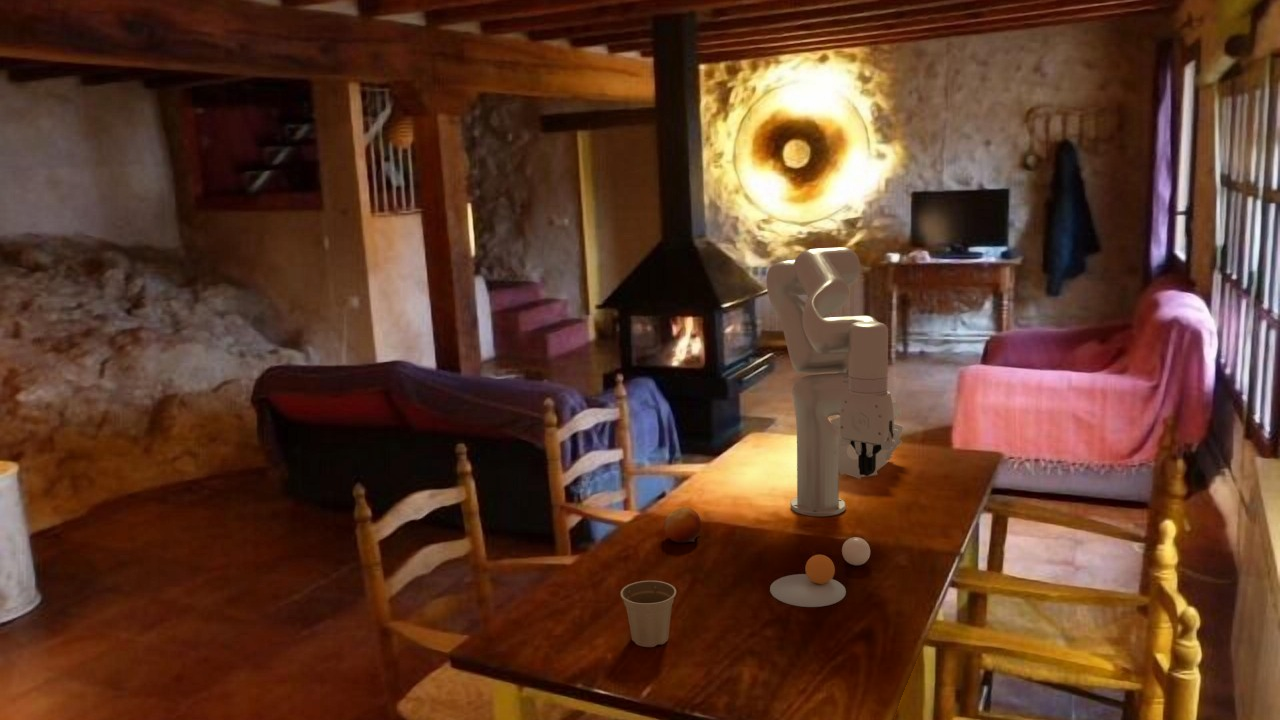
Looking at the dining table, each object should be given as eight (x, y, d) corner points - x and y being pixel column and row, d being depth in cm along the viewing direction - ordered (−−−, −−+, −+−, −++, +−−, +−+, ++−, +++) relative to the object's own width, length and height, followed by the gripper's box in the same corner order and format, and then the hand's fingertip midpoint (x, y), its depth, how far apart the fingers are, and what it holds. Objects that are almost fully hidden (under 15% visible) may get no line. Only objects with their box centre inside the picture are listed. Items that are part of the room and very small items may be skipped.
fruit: (707, 540, 201) (686, 509, 201) (676, 557, 203) (655, 526, 203) (711, 526, 209) (692, 496, 208) (681, 543, 211) (662, 513, 210)
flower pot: (620, 628, 167) (618, 582, 165) (674, 624, 167) (672, 578, 166) (624, 654, 158) (622, 605, 156) (681, 650, 158) (679, 601, 157)
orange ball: (805, 548, 184) (795, 575, 182) (823, 550, 179) (813, 577, 177) (826, 561, 186) (816, 587, 184) (844, 563, 181) (834, 590, 179)
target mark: (776, 572, 187) (776, 571, 187) (849, 578, 183) (849, 577, 183) (764, 602, 174) (764, 601, 174) (842, 610, 170) (842, 609, 170)
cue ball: (839, 533, 190) (833, 558, 190) (859, 543, 185) (852, 570, 186) (859, 532, 193) (853, 558, 193) (879, 543, 188) (872, 569, 189)
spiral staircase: (837, 494, 243) (857, 462, 265) (901, 472, 234) (917, 440, 256) (805, 430, 242) (829, 403, 264) (869, 406, 234) (887, 379, 256)
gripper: (824, 383, 190) (824, 471, 194) (893, 392, 180) (892, 485, 184) (844, 376, 196) (843, 462, 199) (911, 385, 186) (910, 475, 189)
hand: (866, 473), depth 192 cm, fingers closed
